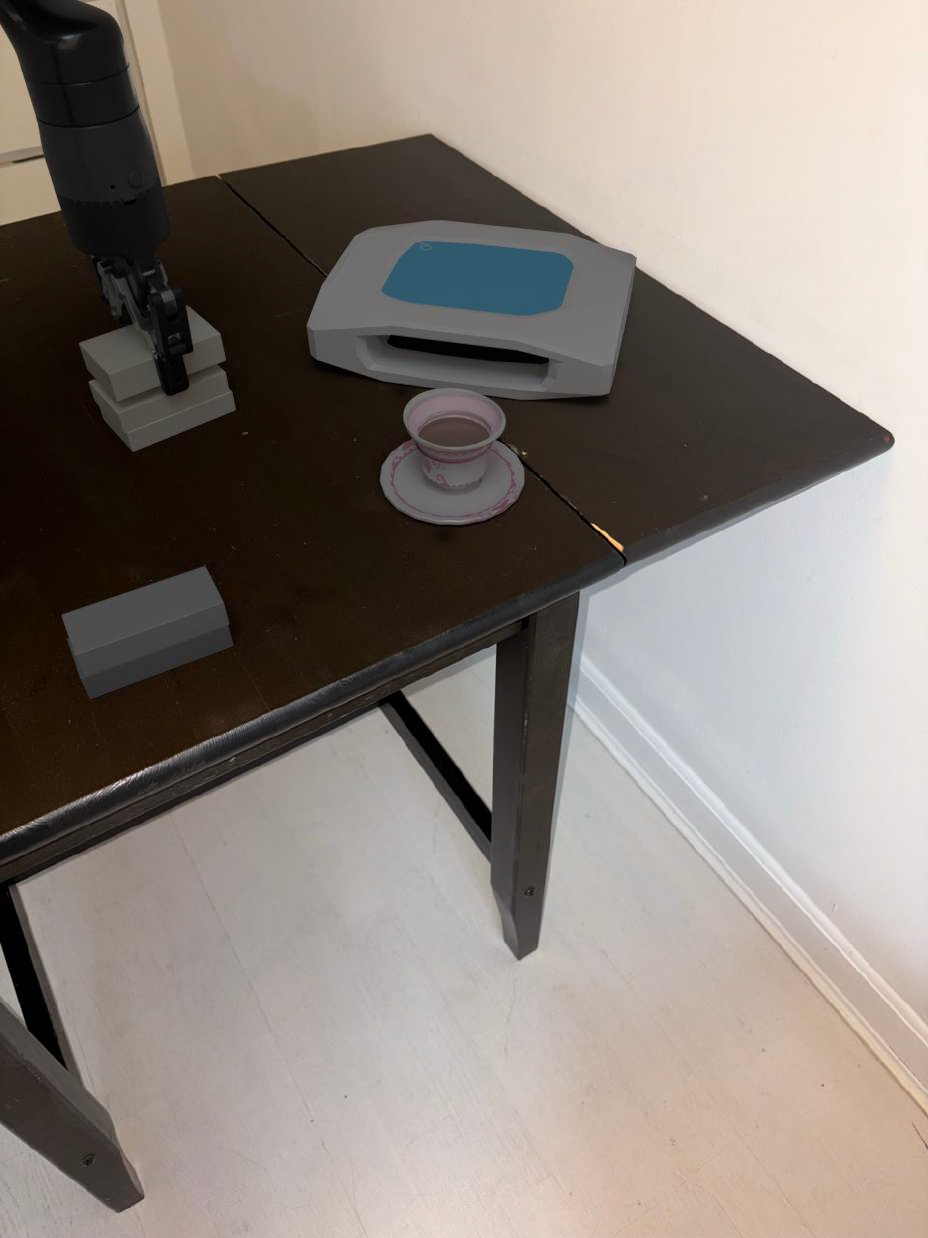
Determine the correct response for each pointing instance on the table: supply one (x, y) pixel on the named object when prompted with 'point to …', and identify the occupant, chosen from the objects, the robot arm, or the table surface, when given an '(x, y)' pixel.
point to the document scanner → (476, 308)
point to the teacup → (452, 460)
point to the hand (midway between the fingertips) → (159, 373)
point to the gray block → (147, 631)
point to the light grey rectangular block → (145, 357)
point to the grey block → (166, 408)
